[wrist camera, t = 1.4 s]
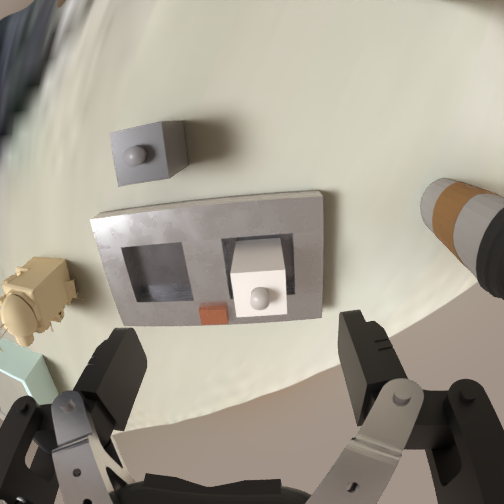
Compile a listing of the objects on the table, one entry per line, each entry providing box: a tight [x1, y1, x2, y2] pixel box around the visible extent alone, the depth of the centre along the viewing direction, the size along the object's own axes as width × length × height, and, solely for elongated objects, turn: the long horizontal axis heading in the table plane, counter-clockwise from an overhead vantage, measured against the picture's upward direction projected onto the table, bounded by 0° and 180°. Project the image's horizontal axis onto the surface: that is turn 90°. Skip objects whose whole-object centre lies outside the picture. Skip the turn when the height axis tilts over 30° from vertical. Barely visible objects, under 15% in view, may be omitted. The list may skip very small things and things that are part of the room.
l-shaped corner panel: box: [0, 337, 59, 405], centre depth 42 cm, size 12×12×8 cm
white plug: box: [230, 238, 287, 317], centre depth 29 cm, size 5×5×8 cm
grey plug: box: [110, 121, 189, 187], centre depth 25 cm, size 5×5×8 cm
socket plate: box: [90, 190, 324, 326], centre depth 32 cm, size 14×24×3 cm, turn 95°
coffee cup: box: [420, 179, 504, 300], centre depth 23 cm, size 8×8×15 cm
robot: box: [0, 257, 84, 352], centre depth 29 cm, size 10×8×15 cm
